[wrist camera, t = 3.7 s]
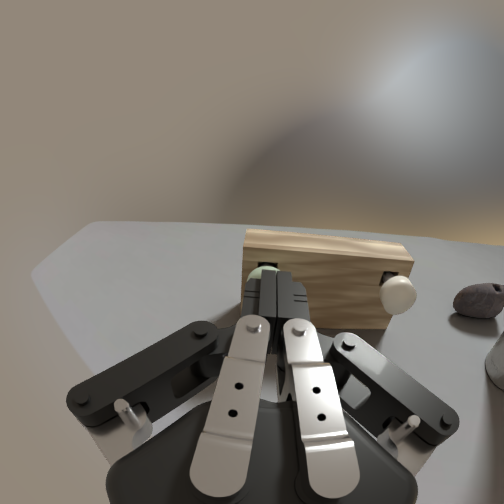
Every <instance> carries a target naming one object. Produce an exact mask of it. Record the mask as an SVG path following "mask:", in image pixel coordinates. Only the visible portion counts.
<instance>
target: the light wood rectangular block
mask: <svg viewBox="0 0 504 504" xmlns="http://www.w3.org/2000/svg"><path fill="white" fill-rule="evenodd" d="M262 262H272V263H274V268H277V269H279V270H280V271H289V272H291V274H292V282H301V283H302V285H303V286H304V287H305V289H306V295H307V296H306V297H307V302H308V308H309V315H310V322H311V323H312V324H313V325H314V327H315V328H328V329H387V327H388V324H389V322H390V320H391V318H392V316H393V315H392V314H389V313H387V312H386V311H385V309H384V306H383V304H382V302H381V300H380V297H379V293H380V289H381V287H382V286H383V284H384V282H383V280H382V275H383V272H384V271H391V272H392V274H393V275H394V277H395V276H404V277H406V278H408V277H409V275H410V272H411V269H412V267H413V264H414V260H413V258H412V257H411V256H410V255H409V253H408V252H407V251H406V249H405V248H404V247H403V246H402V244H401V243H394V242H385V241H376V240H366V239H357V238H347V237H337V236H327V235H316V234H305V233H294V232H282V231H270V230H258V229H247V231H246V235H245V240H244V245H243V262H242V285H241V310H242V303H243V297H244V290H245V284H246V282H247V279H248V276H249V274H250V273H251V272H252V271H253V270H255V269H256V268H259V267H261V263H262ZM240 316H241V311H240Z"/></svg>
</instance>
